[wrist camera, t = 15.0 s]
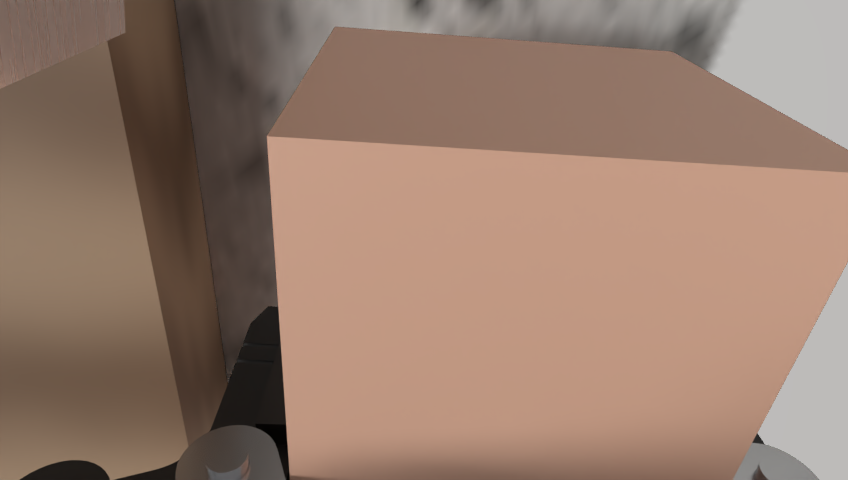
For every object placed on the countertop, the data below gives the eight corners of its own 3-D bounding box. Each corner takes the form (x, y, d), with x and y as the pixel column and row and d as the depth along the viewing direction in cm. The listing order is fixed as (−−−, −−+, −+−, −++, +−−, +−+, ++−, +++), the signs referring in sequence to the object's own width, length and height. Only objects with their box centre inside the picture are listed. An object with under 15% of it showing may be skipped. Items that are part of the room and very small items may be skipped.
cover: (671, 51, 9) (893, 175, 5) (549, 484, 15) (605, 720, 11) (334, 26, 9) (267, 135, 5) (336, 478, 15) (306, 717, 10)
